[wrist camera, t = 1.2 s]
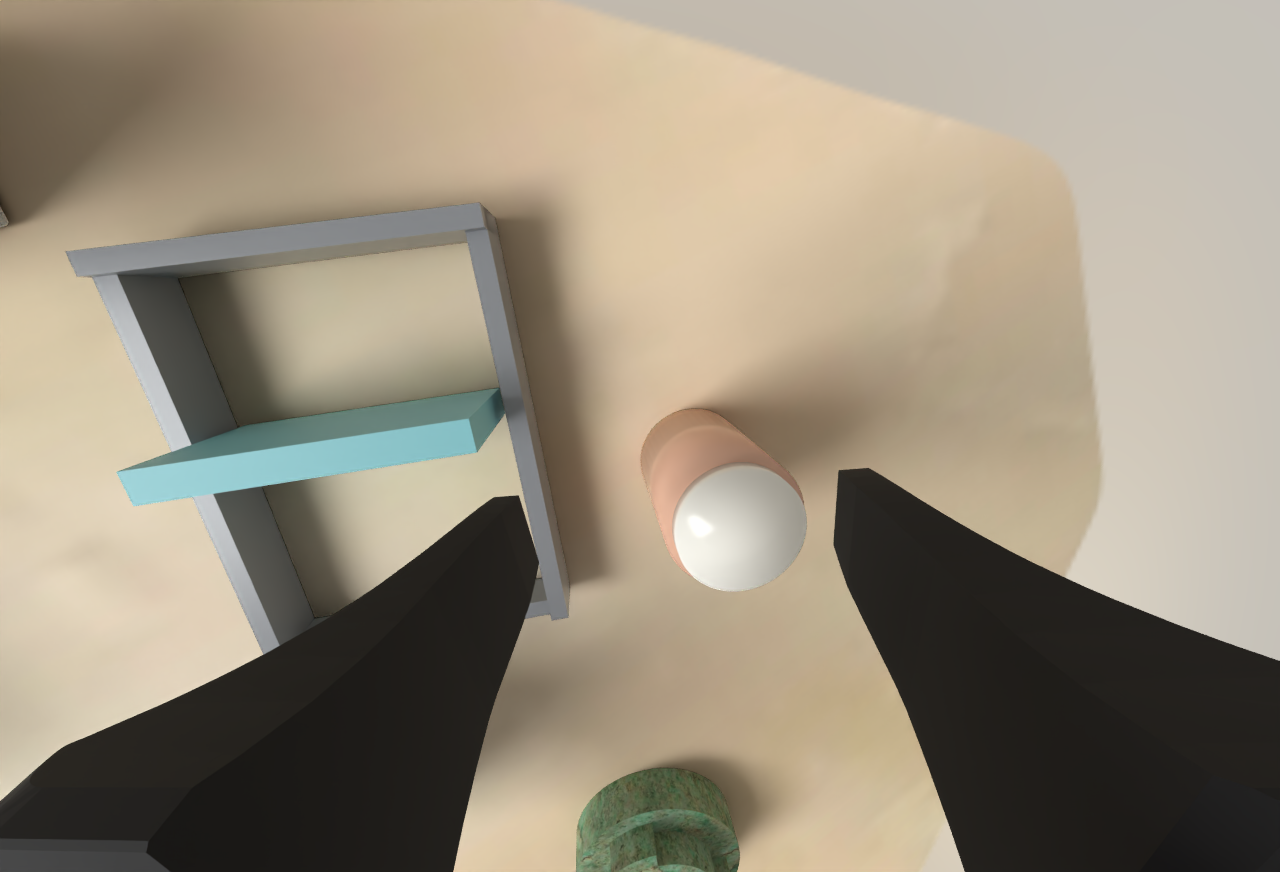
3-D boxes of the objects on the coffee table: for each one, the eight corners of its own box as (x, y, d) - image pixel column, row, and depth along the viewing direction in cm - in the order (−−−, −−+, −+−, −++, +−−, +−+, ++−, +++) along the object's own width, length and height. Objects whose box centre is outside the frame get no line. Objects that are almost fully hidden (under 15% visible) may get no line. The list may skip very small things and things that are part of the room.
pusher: (505, 413, 21) (477, 452, 16) (255, 451, 20) (133, 506, 15) (499, 387, 21) (468, 418, 15) (245, 425, 20) (116, 472, 15)
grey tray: (570, 586, 24) (567, 624, 21) (303, 634, 23) (264, 681, 20) (495, 217, 19) (479, 202, 16) (147, 259, 18) (65, 251, 15)
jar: (744, 497, 24) (816, 584, 17) (647, 513, 24) (675, 610, 16) (738, 401, 23) (813, 449, 15) (634, 417, 22) (658, 475, 15)
